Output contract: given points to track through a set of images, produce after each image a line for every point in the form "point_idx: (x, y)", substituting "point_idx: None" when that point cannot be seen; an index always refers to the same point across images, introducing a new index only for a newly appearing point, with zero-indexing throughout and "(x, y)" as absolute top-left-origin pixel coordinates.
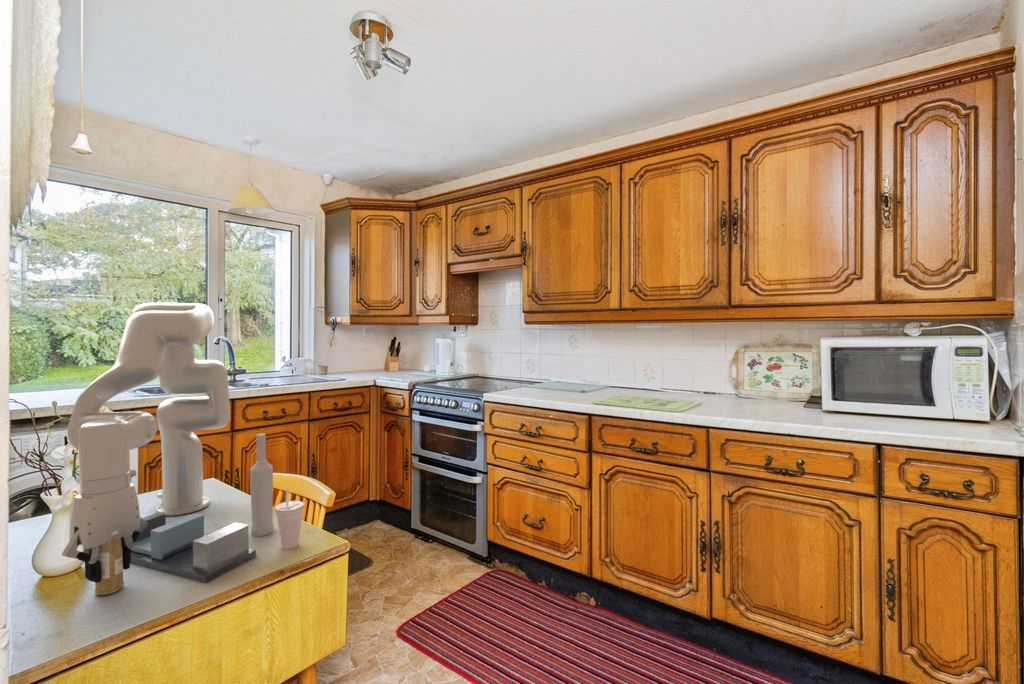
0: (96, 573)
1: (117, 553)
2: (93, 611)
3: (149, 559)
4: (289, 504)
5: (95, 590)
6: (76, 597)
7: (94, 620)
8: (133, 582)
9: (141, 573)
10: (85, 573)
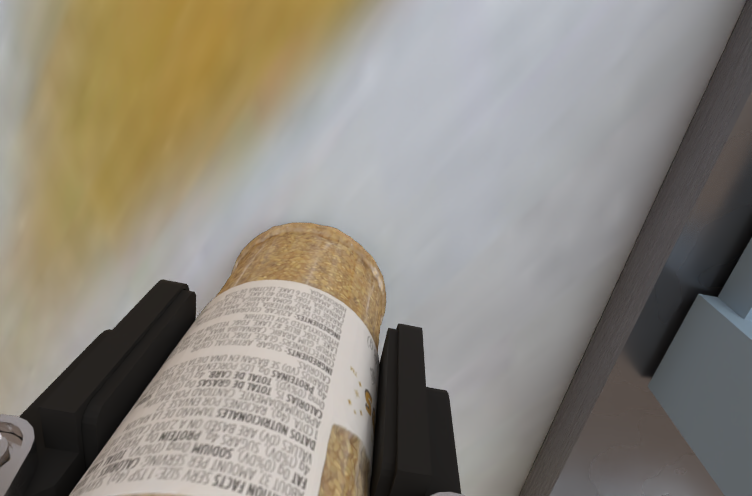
0: None
1: None
2: None
3: (670, 293)
4: None
5: (238, 262)
6: (189, 150)
7: None
8: (423, 336)
9: (537, 293)
10: (88, 350)
